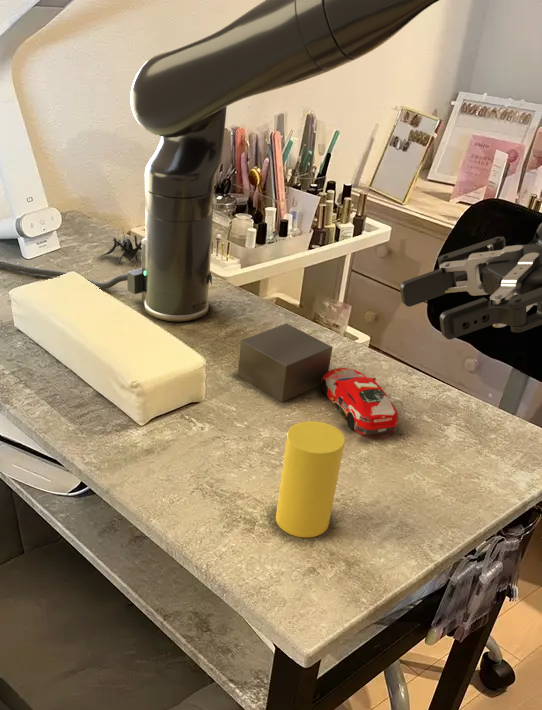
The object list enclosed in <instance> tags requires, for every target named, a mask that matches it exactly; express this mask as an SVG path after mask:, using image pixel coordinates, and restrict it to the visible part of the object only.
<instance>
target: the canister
mask: <svg viewBox="0 0 542 710" xmlns="http://www.w3.org/2000/svg"><path fill="white" fill-rule="evenodd" d="M286 433H287V434H286V440H285V447H284V455H283V461H282V462H283V463H282V469H281V476H280V485H279V490H278V498H277V506H276V513H275V521H276V524H277V526H278V527H279V528H280V529H281V530H282V531H284V532H285V533H287V534H289V535H291V536H294V537H298V538H314V537H318V536H321V535H322V534H324V533H325V532H326V531H327V530H328V528H329V526H330V520H331V514H332V510H333V505H334V499H335V494H336V489H337V484H338V479H339V474H340V469H341V465H342V464H341V463H342V459H343V455H344V454H343V453H344V449H345V444H346V437H345V435H344V434H343V431H341V430H340V429H339V428H337V427H336V426H334V425H332V424H329V423H326V422H323V421H315V420H308V421H307V420H306V421H300V422H298V423H295V424H293V425H292V426H290V428H289V429H288V430H287V432H286Z"/></svg>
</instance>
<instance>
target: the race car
mask: <svg viewBox="0 0 542 710" xmlns="http://www.w3.org/2000/svg"><path fill="white" fill-rule="evenodd" d="M320 389H321V392H322V394H323V395H324V396H327V398H328V399H329V401H331V403H332V404H333V405H334V407H335V408H336V409H337V411H338V412H339V413H340V415H341V416H342V417H343V418H344V420H346V423H347V426H348V428H349V429H350V430H354V431H355V432H357V433H359V434H362V435H367V436H368V435H369V436H374V435H382V434H388V433H390V434H391V433H394V432H395V431H397V427H398V422H399V417H398V411H397V408H396V407H395V405H393V402H392V401H391V400H390V398H389V397H388V395H387V393H386V392H385V391H384V389H383V388H382V387H381V386H380V384H378V382H377V381H376V377H367V376H366V375H365V374H364V373H362V372H361V371H359V370H356V369H353V368H347V367H336V368H332V369H329V372H327V373H326V374H325V375H324V376H323V377H322V379H321V385H320Z"/></svg>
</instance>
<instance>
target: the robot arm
mask: <svg viewBox="0 0 542 710" xmlns="http://www.w3.org/2000/svg"><path fill="white" fill-rule="evenodd" d="M439 1H440V0H264V1H262V2H260V3H259V4H257V5H256V6H254V7H253V8H251V9H250V10H248V11H247V12H245V13H244V14H242V15H241V16H240V17H238V18H237V19H235V20H233V21H232V22H230V23H229V24H228V25H226V26H224V27H222V28H220V29H219V30H217V31H216V32H214V33H212V34H210V35H208V36H205V37H203V38H200V39H199V40H196V41H193V42H191V43H188V44H186V45H184V46H181V47H178V48H176V49H173V50H169V51H166V52H161V53H158V54H157V55H154V56H152V57H151V58H149V59H148V60H147V61H146V62H145V63H144V64H143V65H142V66H141V67H140V69H139V71H138V72H137V73H136V75H135V78H134V80H133V83H132V85H131V90H130V107H131V111H132V113H133V114H132V115H133V116H134V118H135V120H136V121H137V123H138V124H139V125H140V126H141V127H142V128H143V129H144V130H145V131H147V132H148V133H150V134H152V135H154V136H157V137H160V141H159V143H158V146H157V148H156V150H155V152H154V153H153V155H152V157H150V159H149V161H148V162H147V164H146V167H145V170H144V234H145V235H144V237H143V238H144V239H143V238H142V239H143V240H142V239H141V240H142V245H141V247H142V250H141V267H138V268H136V269H132V270H128V271H127V273H125V274H120V275H116V276H115V277H113V278H112V279H110V280H109V281H105V282H98V281H94V280H90V279H88V278H86V279H87V280H88V281H90V282H91V283H93V284H95V285H96V286H98V287H100V288H101V290H105V289H111V288H113V287H114V286H116V285H117V284H119V283H121V282H126V281H127V291H128V292H130V293H132V294H134V295H138V294H140V293H141V303H142V304H144V311H145V312H146V313H147V314H148V315H150V316H151V317H152V318H156V319H158V320H162V321H167V322H189V321H194V320H197V319H199V318H202V317H204V316H205V315H206V314H207V313H208V311H209V305H210V301H209V296H210V295H209V293H210V285H211V287H212V283H213V275H212V273H211V257H212V256H211V255H212V237H213V220H214V219H213V215H214V198H215V197H214V195H215V183H216V182H215V181H216V177H217V173H218V170H219V168H220V166H221V163H222V156H223V151H224V140H225V139H224V138H225V130H226V121H227V109H228V108H227V107H228V106H230V105H232V104H234V103H236V102H239V101H241V100H243V99H247V98H251V97H253V96H256V95H260V94H264V93H267V92H271V91H275V90H278V89H281V88H284V87H285V88H286V87H288V86H292V85H295V84H298V83H300V82H303V81H306V80H309V79H312V78H315V77H318V76H321V75H323V74H326V73H328V72H330V71H333V70H335V69H337V68H340V67H342V66H344V65H346V64H348V63H352V62H353V61H355V60H357V59H360V58H362V57H363V56H365V55H367V54H369V53H371V52H373V51H374V50H376V49H377V48H379V47H381V46H382V45H383V44H385V43H386V42H388V40H390V39H391V38H393V37H394V36H395V35H396V34H397V33H399V32H400V31H402V29H403V28H405V27H406V26H407V25H408V24H409V23H411V21H413V20H414V19H415V18H417V17H418V16H419V15H420V14H422V12H424V11H425V10H427V9H428V8H430V7H431V6H432V5H434V4H436V3H437V2H439ZM437 262H438V268H437V269H435V270H431V271H429V272H426V273H423V274H421V275H420V274H419V275H418V276H415V277H412V278H410V279H406V280H404V281H402V282H401V283H400V284H399V285H400V286H399V290H400V291H399V292H400V295H401V296H400V297H401V298H400V299H401V302H402V303H403V305H405V306H406V307H414V306H416V305H420V304H422V303H425V302H427V301H430V300H433V299H437V298H440V297H441V296H442V297H443V296H444V295H446V294H450V293H463V292H467V293H468V294H469V295H470V296H473V297H476V296H486V295H487V296H488V295H490V296H489V299H487V298H485V297H481V298H479V299H476V300H473V301H470V302H466V303H464V304H462V305H459V306H456V307H453V308H450V309H447V310H444V311H443V312H442V313H440V315H439V325H440V331H441V335H442V336H443V337H444V338H445V339H447V340H453V339H456V338H459V337H461V336H462V337H463V336H464V335H467V334H471V333H473V332H476V331H478V330H479V331H480V330H481V329H485V328H488V327H490V326H492V327H493V328H496V329H499V328H504V327H506V326H510V331H511V332H512V333H515V334H516V333H519V334H520V333H523V332H526V331H529V330H531V329H533V328H536V327H539V326H541V325H542V222H541V223H540V224H539V225H538V226H537V229H536V232H535V234H534V235H533V237H532V240H531V241H530V242H529V243H527V244H515V245H507V246H506V238H505V237H504V236H496V237H493V238H489V239H487V240H484V241H481V242H478V243H474V244H471V245H469V246H465V247H463V248H460V249H457V250H454V251H450V252H448V253H445V254H444V253H443V254H442V255H440V256H438V257H437ZM0 267H3V268H7V269H10V270H14V271H19V272H23V273H26V274H27V273H29V274H34V275H39V276H48V277H54V278H58V277H57V276H60V275H63V274H66V273H67V272H66V271H60V270H55V269H53V270H52V269H46V268H39V267H38V268H37V267H33V266H28V265H23V264H18V263H14V262H10V261H6V260H3V259H0ZM481 275H482V281H481ZM534 306H536V312H535V313H533V314H531V315H528V314H527V313H528V311H530V310H531V309H532V307H534Z"/></svg>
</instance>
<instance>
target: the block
mask: <svg viewBox="0 0 542 710" xmlns="http://www.w3.org/2000/svg"><path fill="white" fill-rule="evenodd" d="M333 348H334V347H333V345H330V344H328V343H325V342H324V341H323V340H320V339H318V338H316V337H314V336H313V335H310V334H308V333H306V332H305V331H302V330H301V329H298V328H296V327H295V326H293V325H292V324H288V323H287V322H286V323H283V324H280V325H278V326H275V327H273V328H269V329H267V330H265V331H262V332H260V333H257V334H254V335H251V336H249V337H245V338H243V339H241V340H240V343H239V355H238V357H239V358H238V367H237V368H238V369H237V376H238V377H239V378H241V379H243V380H244V381H245V382H247V383H249V384H251V385H252V386H253V387H256V388H257V389H259V390H261V391H262V392H264V393H266V394H268V396H270V397H272V398H274V399H276V400H277V401H279V402H281V403H284V402H286V401H287V400H291V399H293V398H295V397H296V396H299V395H302V394H304V393H306V392H309V391H310V390H312V389H314V388H317V387H319V386H320V387H321V379H322V377H323V376H324V375H325V374H326V373H327V372H329V371H330V365H331V361H332V360H331V359H332V354H333Z"/></svg>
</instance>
